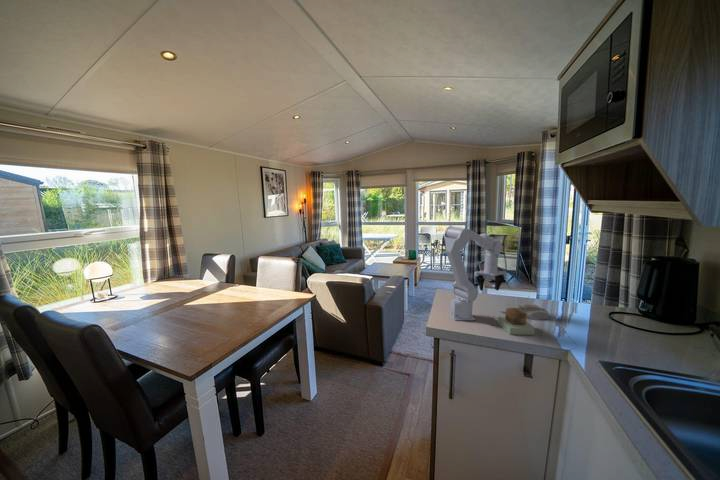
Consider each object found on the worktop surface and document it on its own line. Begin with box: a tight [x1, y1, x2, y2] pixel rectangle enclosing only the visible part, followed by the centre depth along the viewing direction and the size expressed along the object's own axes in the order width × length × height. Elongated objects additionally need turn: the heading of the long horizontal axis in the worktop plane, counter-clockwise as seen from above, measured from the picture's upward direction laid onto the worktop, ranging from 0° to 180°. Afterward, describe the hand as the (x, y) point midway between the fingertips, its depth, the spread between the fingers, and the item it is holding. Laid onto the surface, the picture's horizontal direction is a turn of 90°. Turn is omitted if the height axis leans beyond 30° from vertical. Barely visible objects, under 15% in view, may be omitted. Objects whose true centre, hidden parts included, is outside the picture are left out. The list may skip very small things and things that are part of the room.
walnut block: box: [504, 307, 527, 325], centre depth 112 cm, size 6×6×5 cm
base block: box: [497, 316, 536, 336], centre depth 112 cm, size 10×10×3 cm
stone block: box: [517, 303, 550, 321], centre depth 126 cm, size 12×5×10 cm
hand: (488, 289), depth 129 cm, fingers open, 7 cm apart
